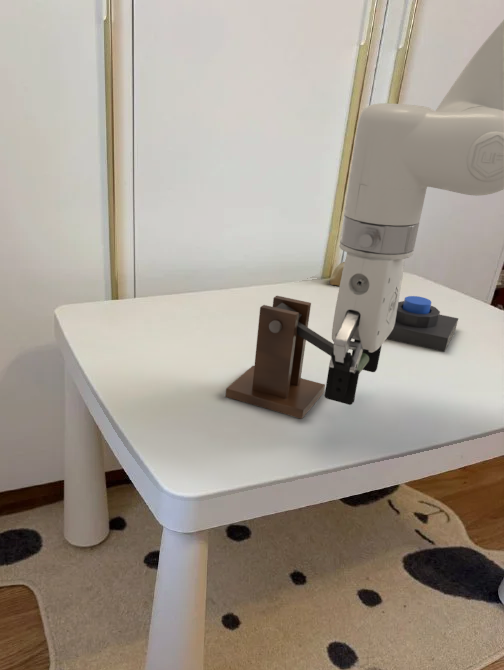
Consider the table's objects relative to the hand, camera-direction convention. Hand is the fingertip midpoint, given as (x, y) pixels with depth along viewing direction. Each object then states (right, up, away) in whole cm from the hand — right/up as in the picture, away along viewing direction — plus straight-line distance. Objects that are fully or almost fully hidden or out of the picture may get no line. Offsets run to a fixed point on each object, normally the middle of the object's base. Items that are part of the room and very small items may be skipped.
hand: (351, 384), depth 73 cm
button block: (+16, +9, +27) cm, 32 cm away
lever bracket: (-8, -1, +5) cm, 10 cm away
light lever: (-4, +4, +1) cm, 6 cm away
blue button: (+16, +12, +25) cm, 32 cm away
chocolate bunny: (+11, +20, +48) cm, 54 cm away
